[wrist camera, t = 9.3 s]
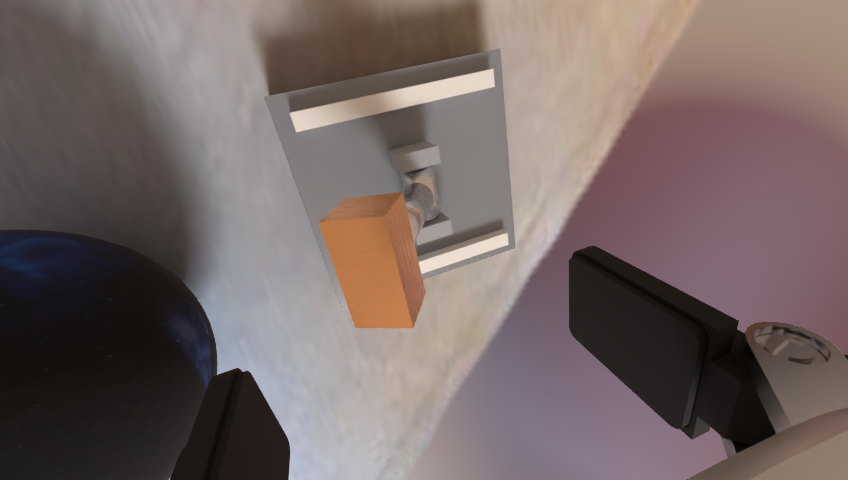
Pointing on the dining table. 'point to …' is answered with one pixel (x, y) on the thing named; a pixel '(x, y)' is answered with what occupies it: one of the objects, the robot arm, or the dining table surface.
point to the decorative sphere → (95, 360)
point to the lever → (382, 250)
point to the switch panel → (408, 152)
